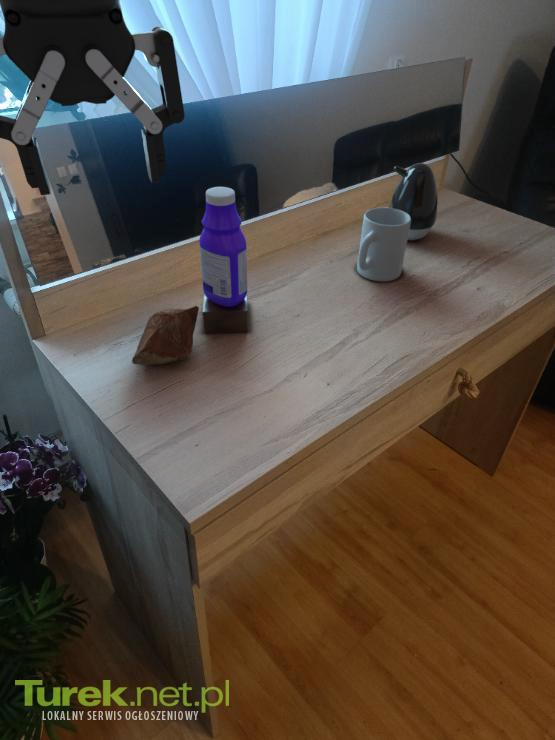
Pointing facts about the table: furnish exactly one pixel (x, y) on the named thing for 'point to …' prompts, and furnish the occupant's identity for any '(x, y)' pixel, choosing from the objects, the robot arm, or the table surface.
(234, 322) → the walnut block
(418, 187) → the pump dispenser
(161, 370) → the table surface
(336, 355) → the table surface
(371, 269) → the mug
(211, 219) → the bottle
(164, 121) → the robot arm
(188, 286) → the table surface
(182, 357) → the fossil
